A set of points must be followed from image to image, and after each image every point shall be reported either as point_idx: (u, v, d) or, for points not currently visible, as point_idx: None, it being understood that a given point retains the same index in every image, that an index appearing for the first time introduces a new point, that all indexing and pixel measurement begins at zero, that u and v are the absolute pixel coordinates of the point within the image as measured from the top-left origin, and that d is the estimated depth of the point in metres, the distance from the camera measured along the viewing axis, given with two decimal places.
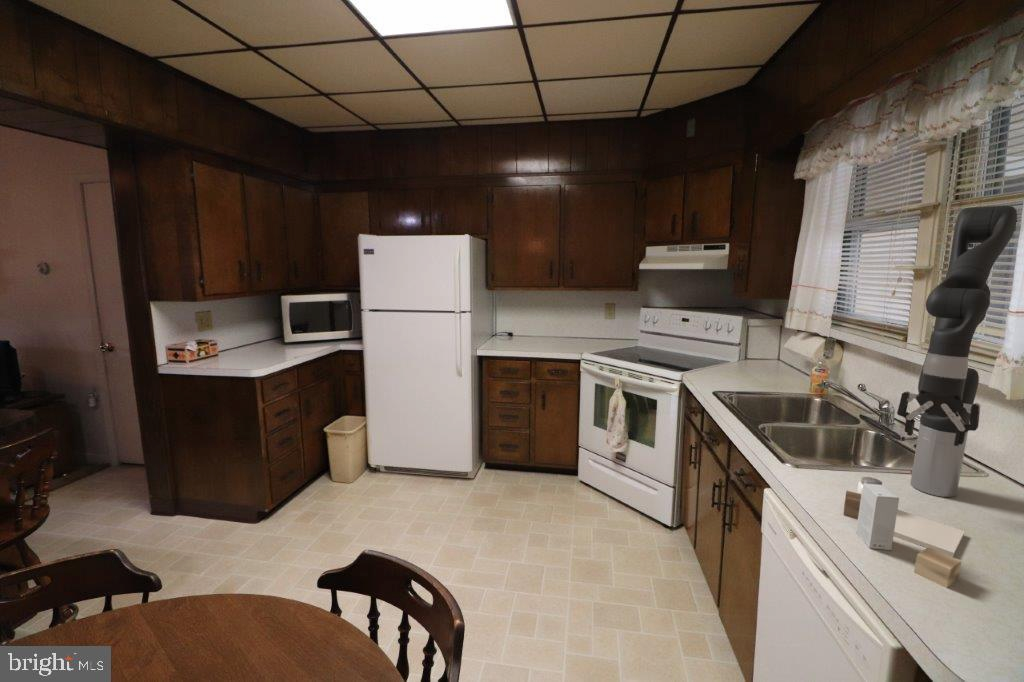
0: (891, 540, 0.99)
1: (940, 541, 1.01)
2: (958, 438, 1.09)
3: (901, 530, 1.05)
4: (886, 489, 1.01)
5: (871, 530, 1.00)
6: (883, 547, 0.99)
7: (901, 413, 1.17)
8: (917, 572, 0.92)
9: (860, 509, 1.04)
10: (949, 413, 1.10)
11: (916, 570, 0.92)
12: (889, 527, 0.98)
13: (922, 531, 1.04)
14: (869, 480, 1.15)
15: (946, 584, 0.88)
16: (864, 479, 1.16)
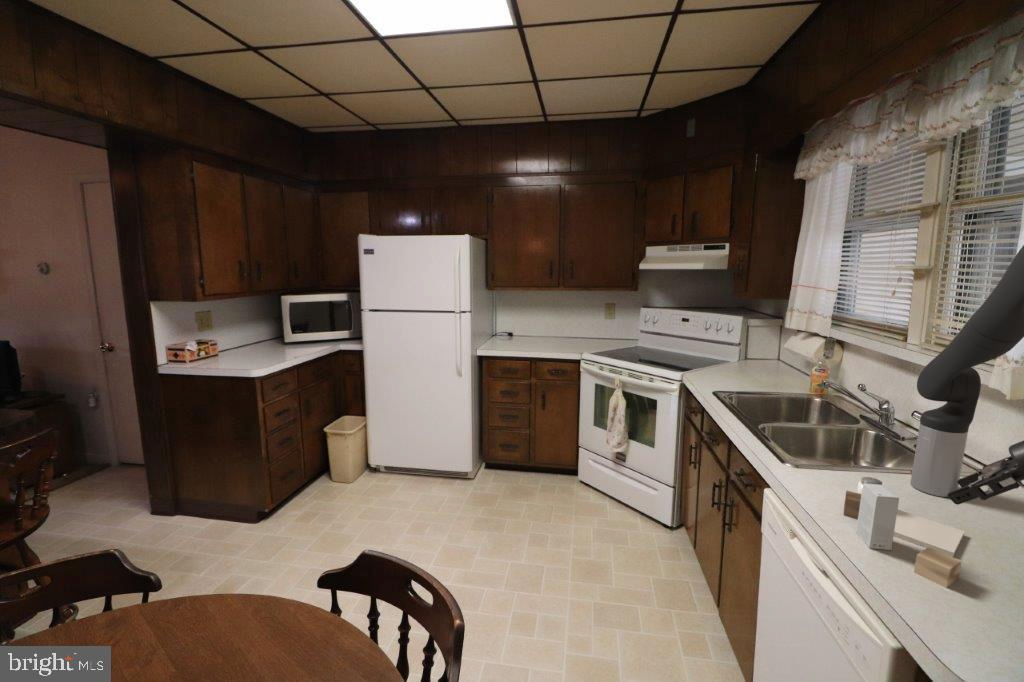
0: (891, 540, 0.99)
1: (940, 541, 1.01)
2: None
3: (901, 530, 1.05)
4: (886, 489, 1.01)
5: (871, 530, 1.00)
6: (883, 547, 0.99)
7: None
8: (917, 572, 0.92)
9: (860, 509, 1.04)
10: None
11: (916, 569, 0.92)
12: (889, 527, 0.98)
13: (922, 531, 1.04)
14: (869, 480, 1.15)
15: (946, 584, 0.88)
16: (864, 479, 1.16)
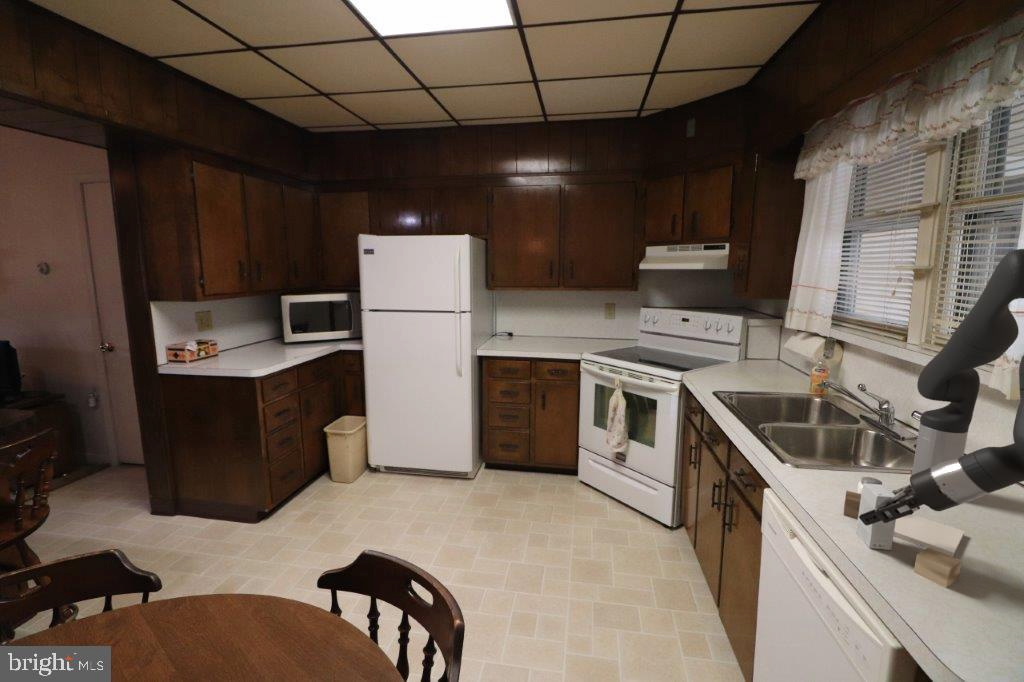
0: (891, 540, 0.99)
1: (940, 541, 1.01)
2: None
3: (901, 530, 1.05)
4: (886, 489, 1.01)
5: (871, 530, 1.00)
6: (883, 547, 0.99)
7: None
8: (917, 572, 0.92)
9: (860, 509, 1.04)
10: None
11: (916, 569, 0.92)
12: (889, 527, 0.98)
13: (922, 531, 1.04)
14: (869, 480, 1.15)
15: (945, 584, 0.88)
16: (864, 479, 1.16)
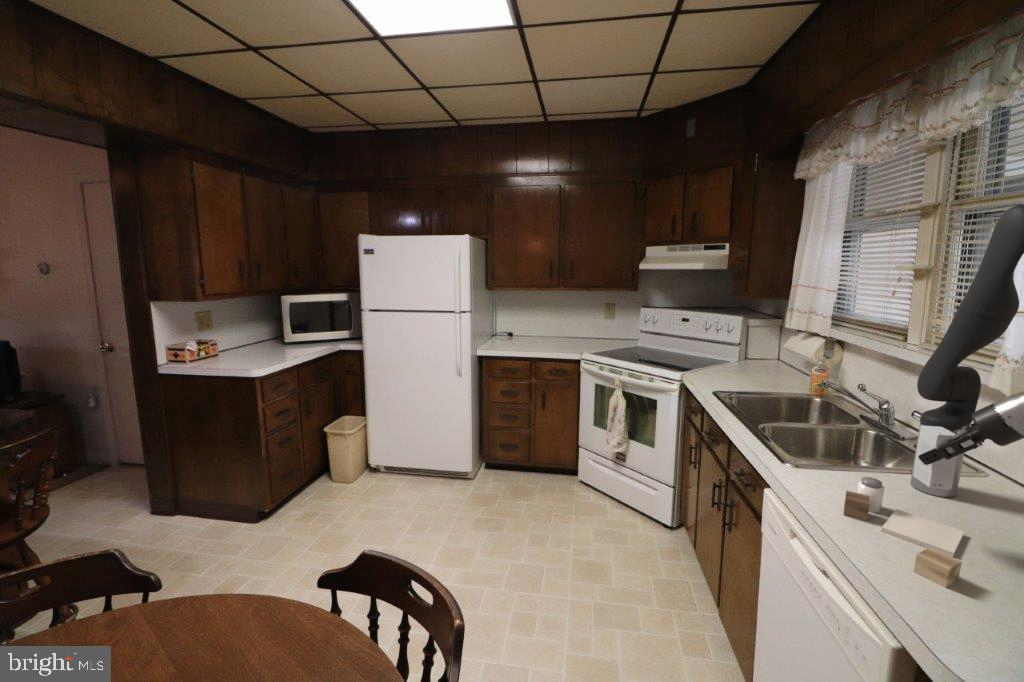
0: (951, 479, 0.99)
1: (940, 541, 1.01)
2: None
3: (901, 530, 1.05)
4: (945, 429, 1.01)
5: (931, 470, 1.00)
6: (943, 486, 1.00)
7: None
8: (917, 572, 0.92)
9: (918, 451, 1.04)
10: None
11: (916, 569, 0.92)
12: (950, 466, 0.99)
13: (922, 531, 1.04)
14: (869, 480, 1.15)
15: (945, 584, 0.88)
16: (864, 479, 1.16)
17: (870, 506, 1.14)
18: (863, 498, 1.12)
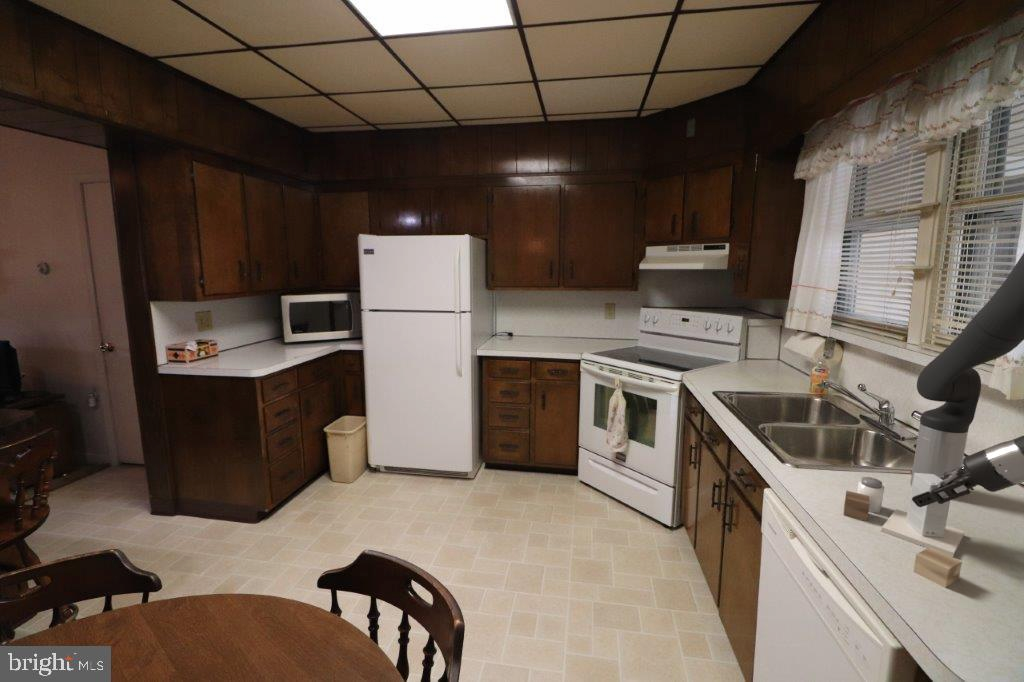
0: (944, 527, 1.01)
1: (940, 541, 1.01)
2: None
3: (901, 530, 1.05)
4: (938, 478, 1.03)
5: (923, 518, 1.02)
6: (936, 534, 1.02)
7: None
8: (916, 571, 0.92)
9: (911, 498, 1.06)
10: None
11: (915, 569, 0.92)
12: (942, 515, 1.01)
13: None
14: (869, 480, 1.15)
15: (945, 584, 0.88)
16: (864, 479, 1.16)
17: (870, 506, 1.14)
18: (863, 498, 1.12)
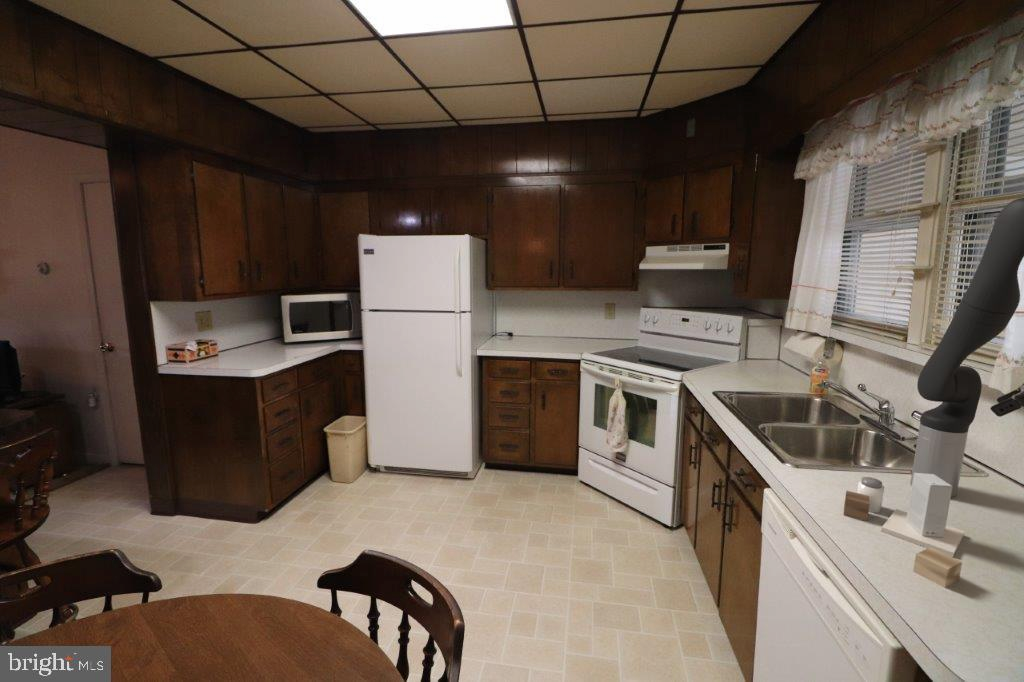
0: (944, 527, 1.01)
1: (940, 541, 1.01)
2: None
3: (901, 530, 1.05)
4: (938, 478, 1.03)
5: (923, 518, 1.02)
6: (936, 534, 1.02)
7: None
8: (916, 571, 0.92)
9: (911, 498, 1.06)
10: None
11: (915, 569, 0.92)
12: (942, 515, 1.01)
13: None
14: (869, 480, 1.15)
15: (944, 584, 0.88)
16: (864, 479, 1.16)
17: (870, 506, 1.14)
18: (863, 498, 1.12)
